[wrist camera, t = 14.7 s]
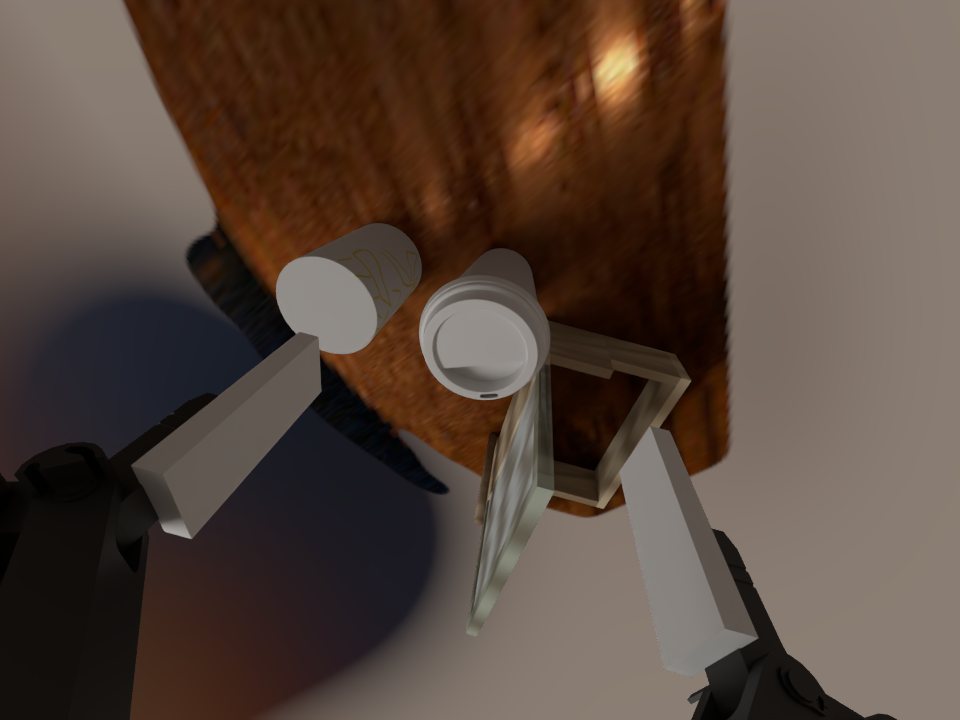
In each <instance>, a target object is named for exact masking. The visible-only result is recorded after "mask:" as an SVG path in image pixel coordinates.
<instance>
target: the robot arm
mask: <svg viewBox="0 0 960 720" xmlns="http://www.w3.org/2000/svg"><path fill="white" fill-rule="evenodd" d="M320 392H321V376H320V355H319V337H317V336H313V335H310V334H306V333H302V332H299V333H297V334H296V335H295V336H294V337H292V338H291V339H290V340H289V341H287V342H286V343H285V344H283V345H282V346H281V347H280V348H278V349H277V350H276V351H275V352H273V353H272V354H271V355H270V356H268V357H267V358H266V359H265V360H263V361H262V362H261V363H260V364H258V365H257V366H256V367H254V368H253V369H252V370H251V371H249V372H248V373H247V374H246V375H244V376H243V377H242V378H241V379H239V380H238V381H237V382H236V383H234V384H233V385H232V386H231V387H229V388H228V389H227V390H225V391H224V392H223V393H222V394H220V395H219V396H218V395H214V394H211V393H206V394H204V395H201V396H199V397H197V398H194V399H192V400H189V401H188V402H186V403H185V404H183V405H182V406H181V407H179V408H178V409H177V410H175V411H174V412H172V415H169V416H167V417H166V418H164V419H163V420H162V421H160V422H159V424H158V425H155V426H153V427H152V428H151V429H149V430H148V431H147V432H145V433H144V434H143V435H141V436H140V437H139V438H137V439H136V440H135V441H133V442H132V443H130V444H129V445H128V446H126V447H125V448H124V449H122V450H121V451H120V452H118V453H117V454H116V455H114V456H113V457H111V458H110V459H109V460H108V459H107V457H106V455H105V453H104V452H103V450H102V449H101V448H100V447H99V446H97V445H96V444H93V443H86V442H77V443H67V444H64V445H60V446H56V447H53V448H50V449H48V450H46V451H44V452H41V453H39V454H37V455H35V456H33V457H32V458H31V459H29V460H28V461H26V462H25V463H24V464H22V465H21V466H20V468H19V469H18V470H17V472H16V473H15V474H14V475H15V476H16V478H17V479H18V480H19V481H18V482H16V481H15V482H7V481H6V479H5V478H4V477H3V476H2V475H1V473H0V720H129V719H130V711H131V710H130V709H131V700H132V692H133V683H134V674H135V664H136V655H137V646H138V636H139V627H140V618H141V609H142V600H143V590H144V580H145V572H146V563H147V553H148V544H149V535H148V529H149V528H150V527H151V526H152V525H153V524H154V523H155V522H156V521H157V520H159V522H160V524H161V526H162V528H163V530H164V531H165V532H168V533H172V534H176V535H179V536H183V537H186V538H190V539H192V538H193V537H194V536H195V535H196V533H197V532H198V531H199V530H200V529H201V528H202V527H203V525H204V524H205V523H206V522H207V521H208V520H209V519H210V517H211V516H212V515H213V514H214V513H215V512H216V511H217V510H218V508H219V507H220V506H221V505H222V504H223V503H224V501H225V500H226V499H227V498H228V497H229V496H230V495H231V494H232V492H233V491H234V490H235V489H236V488H237V487H238V486H239V484H240V483H241V482H242V481H243V480H244V479H245V477H246V476H247V475H248V474H249V473H250V472H251V471H252V470H253V468H254V467H255V466H256V465H257V464H258V463H259V462H260V460H261V459H262V458H263V457H264V456H265V455H266V454H267V453H268V451H269V450H270V449H271V448H272V447H273V446H274V445H275V443H276V442H277V441H278V440H279V439H280V438H281V437H282V436H283V434H284V433H285V432H286V431H287V430H288V429H289V427H290V426H291V425H292V424H293V423H294V422H295V421H296V419H297V418H298V417H299V416H300V415H301V414H302V413H303V412H304V410H305V409H306V408H307V407H308V406H309V405H310V404H311V403H312V401H313V400H314V399H315V398H316V397H317V396H318V395H319V393H320ZM619 473H620V478H621V482H622V487H623V491H624V495H625V500H626V504H627V508H628V513H629V517H630V522H631V526H632V530H633V535H634V540H635V544H636V549H637V553H638V557H639V561H640V566H641V571H642V575H643V580H644V584H645V588H646V593H647V597H648V602H649V606H650V610H651V615H652V619H653V624H654V628H655V632H656V637H657V641H658V646H659V650H660V655H661V659H662V663H663V668H664V670H667V671H670V672H674V673H678V674H682V675H685V676H689V677H693V676H695V675H697V674H699V673H700V672H702V671H704V670H705V671H706V674H707V678H708V681H709V684H710V685H708V686H706V687H704V688H703V689H701V690H699V691H697V692H695V693H693V694H692V695H691V696H690V697H689V698H688V701H689V702H690V703H691V704H692V703H694V702H696V701H698V700H699V702H698V705H697V707H696V710H695V712H694V714H693V717H692V719H691V720H897V719H895V718H893V717H891V716H889V715H885V714H875V715H872V716H869V717H866V718H864V717H862V716H861V715H859V714H858V713H856V712H854V711H853V710H851V709H849V708H848V707H846V706H844V705H843V704H841V703H839V702H838V701H836V700H835V699H833V698H832V697H830V696H828V695H826V694H825V692H824V691H823V689H822V688H821V686H820V685H819V683H818V682H817V680H816V679H815V677H814V676H813V675H812V674H811V673H810V672H809V671H808V670H807V669H806V668H805V667H804V666H803V665H802V664H801V663H800V662H798V661H797V660H796V659H794V658H793V657H792V656H790V655H788V654H787V653H786V651H785V649H784V647H783V645H782V643H781V641H780V639H779V637H778V635H777V633H776V630H775V628H774V626H773V624H772V622H771V620H770V618H769V616H768V613H767V611H766V609H765V607H764V605H763V603H762V601H761V599H760V597H759V594H758V592H757V590H756V589H755V588H754V587H753V582H752V580H751V577H750V575H749V573H748V572H746V567H745V565H744V563H743V561H742V558H741V556H740V554H739V552H738V550H737V548H736V547H735V546H734V545H733V544H732V542H731V541H730V540H729V538H728V537H727V536H726V535H725V533H724V532H723V531H719V530H715V529H712V528H711V526H710V524H709V522H708V519H707V517H706V515H705V512H704V510H703V508H702V506H701V503H700V501H699V498H698V496H697V494H696V491H695V489H694V487H693V485H692V482H691V480H690V477H689V475H688V473H687V470H686V468H685V466H684V463H683V461H682V459H681V456H680V454H679V452H678V449H677V447H676V445H675V442H674V440H673V438H672V435H671V433H670V431H667V430H664V429H660V428H656V427H652V426H650V427H649V428H648V430H647V431H646V433H645V434H644V436H643V437H642V439H641V440H640V442H639V443H638V445H637V446H636V448H635V449H634V451H633V452H632V454H631V455H630V457H629V458H628V460H627V461H626V463H625V464H624V466H623V467H622V469H621V470H620V472H619Z"/></svg>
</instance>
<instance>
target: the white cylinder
mask: <svg viewBox="0 0 960 720" xmlns="http://www.w3.org/2000/svg"><path fill="white" fill-rule="evenodd" d="M421 274H422V263H421V258H420V255H419V252H418V250H417V248H416V246H415V245H414V243H413V242H412V241H411V239H410V238H409V237H408V236H407V235H406V234H405V233H403V232H402V231H401V230H399V229H397V228H395V227H393V226H391V225H388V224H383V223H373V224H368V225H366V226H363V227H361V228H359V229H357V230H355V231H353V232H351V233H349V234H347V235H345V236H343V237H341V238H339V239H337V240H335V241H333V242H331V243H328V244H326V245H324V246H322V247H320V248H318V249H316V250H314V251H312V252H310V253H308V254H306V255H304V256H302V257H300V258H298V259H296V260H294V261H292V262H290V263H289V264H287V265H286V266H285V267H284V269H283V270H282V271H281V273H280V275H279V277H278V280H277V285H276V296H277V302H278V305H279V308H280V311H281V313H282V315H283V317H284V319H285V320H286V322H287V323H288V325H289V326H290V327H291V328H292V330H293V331H294V332H295V333H296V334H297V333H299V332H302V333H306V334H310V335H313V336H317V337H319V349H320V350H323V351H326V352H329V353H335V354H349V353H353V352H356V351H359V350H361V349H362V348H364V347H365V346H366V345H367V344H368V343H369V342H370V341H371V340H372V339H373V338H374V336H375V335H376V334H377V333H378V332H379V331H380V329H381V328H382V327H383V326H384V325H385V324H386V322H387V321H388V320H389V319H390V318H391V317H392V315H393V314H394V313H395V312H396V311H397V310H398V308H399V307H400V306H401V305H402V304H403V302H404V301H405V300H406V299H407V298H408V297H409V295H410V294H411V293H412V292H413V291H414V290H415V288H416V287H417V285H418V284H419V281H420V279H421Z"/></svg>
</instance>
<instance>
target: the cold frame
mask: <svg viewBox="0 0 960 720" xmlns="http://www.w3.org/2000/svg"><path fill="white" fill-rule="evenodd" d="M547 321H548V320H547ZM548 324H549V328H550V348H549V352H548V355H547V358H546V360H545V362H544V364H543V366H542V368H541V369H540V371H539V372H538V373H537V374H536V376H535V377H534V378H533V379H532V380H531V381H530V382H528V383H527V384H526V385H524V386H523V387H522V388H521V389H519V390H518V391H516V392H514V395H513V398H512V400H511V403H510V406H509V409H508V412H507V415H506V418H505V421H504V424H503V426H502V429H501V432H500V435H499V438H498V441H497V444H496V438H497V435H496V434H495V433H490V435H489V441H488V446H487V452H486V457H485V463H484V468H483V474H482V479H481V485H480V491H479V496H478V501H477V507H476V512H475V518H474V523H475V524H477V525H482V524H483V526H482V533H481V539H480V546H479V552H478V558H477V565H476V571H475V578H474V584H473V591H472V597H471V603H470V610H469V616H468V622H467V629H466V634H470V635H473V636H477V635H478V633H479V631H480V629H481V628H482V626H483V624H484V622H485V620H486V618H487V616H488V614H489V613H490V610H491V609H492V607H493V605H494V603H495V601H496V599H497V598H498V596H499V594H500V592H501V590H502V588H503V586H504V585H505V583H506V581H507V579H508V577H509V575H510V573H511V571H512V570H513V568H514V566H515V564H516V562H517V560H518V558H519V556H520V555H521V553H522V551H523V549H524V547H525V545H526V543H527V541H528V539H529V538H530V536H531V534H532V532H533V530H534V528H535V526H536V525H537V523H538V521H539V519H540V517H541V515H542V513H543V511H544V510H545V508H546V506H547V504H548V502H549V500H550V498H551V497H552V495H554V496H558V497H562V498H565V499H569V500H573V501H576V502H580V503H584V504H587V505H591V506H595V507H599V508H602V509H604V507H605V506H606V504H607V503H608V501H609V500H610V498H611V497H612V496H613V494H614V493H615V491H616V490H617V488H618V487H619V485H620V484H621V483H622V482H621V478H620V473H619V472H620V470H621V469H622V467H623V466H624V464H625V463H626V461H627V460H628V458H629V457H630V455H631V454H632V452H633V451H634V449H635V448H636V446H637V445H638V443H639V442H640V440H641V439H642V437H643V436H644V434H645V433H646V431H647V430H648V428H649V427H650V426H652V427H656V428H659V427H660V426H661V424H662V423H663V422H664V420H665V419H666V417H667V416H668V414H669V413H670V411H671V410H672V409H673V407H674V406H675V404H676V403H677V401H678V400H679V398H680V397H681V395H682V394H683V393H684V391H685V390H686V388H687V387H688V385H689V384H690V382H691V379H690V378H689V376H688V374H687V373H686V371H685V369H684V368H683V366H682V365H681V363H680V361H679V360H678V358H677V356H676V355H675V354H673V353H669V352H665V351H661V350H657V349H654V348H650V347H646V346H642V345H639V344H635V343H631V342H627V341H624V340H620V339H616V338H612V337H609V336H605V335H601V334H597V333H593V332H590V331H586V330H582V329H578V328H575V327H571V326H567V325H563V324H560V323H556V322H552V321H548ZM550 364H554V365H557V366H561V367H565V368H569V369H572V370H576V371H580V372H584V373H587V374H591V375H595V376H599V377H602V378H606V379H610V377H611V375H612V373H613V371H614V370H617V371H621V372H624V373H628V374H632V375H636V376H639V377H643V378H647V379H649V381H648V383H647V384H646V386H645V387H644V389H643V391H642V392H641V394H640V396H639V397H638V399H637V401H636V402H635V404H634V406H633V407H632V409H631V411H630V412H629V414H628V416H627V417H626V419H625V421H624V422H623V424H622V426H621V427H620V429H619V431H618V432H617V434H616V436H615V437H614V439H613V440H612V442H611V444H610V445H609V447H608V449H607V450H606V452H605V454H604V455H603V457H602V459H601V460H600V462H599V464H598V465H597V467H596V469H595V470H594V471H592V470H589V469H585V468H581V467H577V466H574V465H570V464H566V463H563V462H559V461H555V460H553V432H552V401H551V370H550ZM495 444H496V447H495Z"/></svg>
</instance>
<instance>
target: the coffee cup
mask: <svg viewBox="0 0 960 720" xmlns="http://www.w3.org/2000/svg"><path fill="white" fill-rule="evenodd" d="M419 338H420V344H421V349H422V352H423V355H424V357H425V360H426V363H427V365H428V367H429V369H430V371H431V372H432V374H433V375H434V376H435V377H436V379H437V380H438V381H439V382H440V383H442V384H443V385H444V386H445V387H447V388H448V389H450V390H451V391H453V392H455V393H457V394H459V395H462V396H465V397H468V398H472V399H479V400H492V399H498V398H502V397H506V396H508V395H511V394H513V393H514V392H516V391H518V390H519V389H521V388H522V387H523V386H524V385H526V384H527V383H528V382H530V381H531V380H532V379H533V378H534V377H535V376H536V374H537V373H538V372H539V371H540V369H541V368H542V366H543V364H544V362H545V360H546V358H547V355H548V352H549V348H550V328H549V324H548V321H547V318H546V315H545V313H544V311H543V310H542V308H541V306H540V305H539V304H538V302H537V296H536V291H535V286H534V280H533V275H532V271H531V268H530V266H529V264H528V262H527V261H526V260H525V259H524V258H523V257H522V256H521V255H520V254H518V253H517V252H515V251H513V250H509V249H504V248H498V249H492V250H489V251H487V252H485V253H484V254H482V255H481V256H480V257H479V258H478V259H477V260H476V261H475V262H474V263H473V264H472V265H471V266H470V267H469V268H468V269H467V270H466V271H465V272H464V273H463V274H462V275H461V276H460V277H459V278H458V279H456V280H454V281H451V282H449V283H447V284H446V285H444V286H443V287H441V288H440V289H439V290H438V291H436V292H435V293H434V294H433V296H432V297H431V298H430V299H429V301H428V302H427V304H426V306H425V308H424V310H423V313H422V316H421V320H420V328H419Z"/></svg>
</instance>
